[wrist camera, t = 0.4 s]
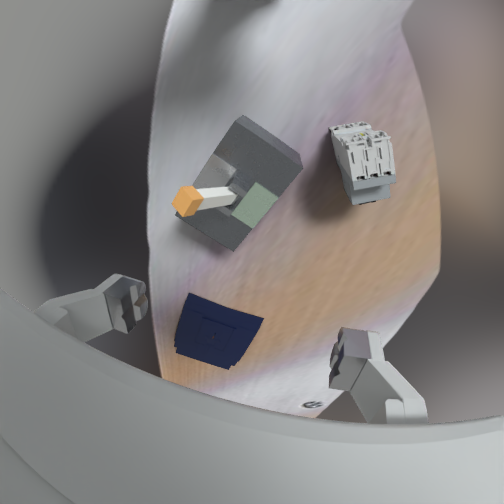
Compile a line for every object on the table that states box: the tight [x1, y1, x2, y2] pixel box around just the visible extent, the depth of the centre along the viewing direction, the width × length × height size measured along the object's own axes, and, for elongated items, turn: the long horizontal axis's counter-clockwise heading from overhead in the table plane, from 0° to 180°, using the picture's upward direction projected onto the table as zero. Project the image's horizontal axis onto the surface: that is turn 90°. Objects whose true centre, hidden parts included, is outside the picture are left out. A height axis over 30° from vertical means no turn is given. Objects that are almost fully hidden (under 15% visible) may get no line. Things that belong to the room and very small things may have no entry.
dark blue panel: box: [174, 293, 264, 370], centre depth 87 cm, size 24×30×4 cm
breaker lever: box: [172, 186, 240, 217], centre depth 42 cm, size 3×3×14 cm
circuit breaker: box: [329, 122, 396, 205], centre depth 45 cm, size 8×14×15 cm, turn 17°
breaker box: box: [175, 115, 303, 252], centre depth 51 cm, size 22×14×14 cm, turn 145°
